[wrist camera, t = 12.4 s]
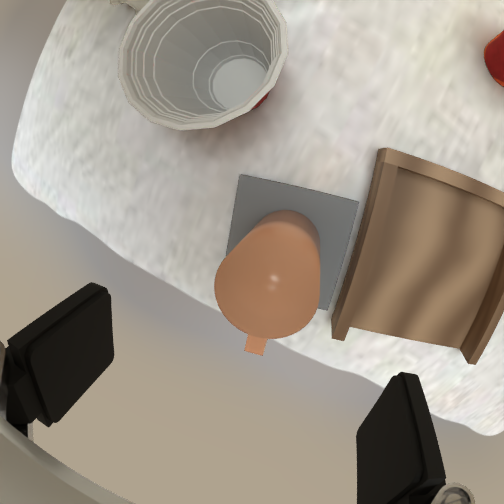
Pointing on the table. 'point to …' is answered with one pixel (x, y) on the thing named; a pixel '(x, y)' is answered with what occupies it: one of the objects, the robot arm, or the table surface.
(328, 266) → the coaster
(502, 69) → the paper cup
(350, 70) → the table surface
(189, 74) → the plastic cup
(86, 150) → the table surface
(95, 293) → the robot arm
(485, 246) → the brown tray
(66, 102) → the table surface
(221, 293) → the tan tapered cylinder
